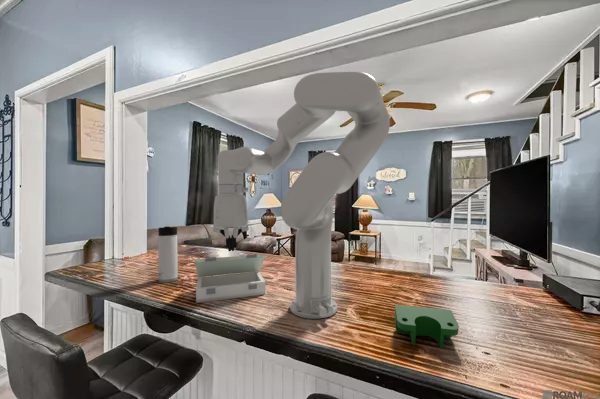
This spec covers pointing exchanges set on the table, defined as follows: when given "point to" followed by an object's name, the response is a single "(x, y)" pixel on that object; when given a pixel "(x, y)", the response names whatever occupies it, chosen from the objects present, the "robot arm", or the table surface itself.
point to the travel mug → (167, 254)
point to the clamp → (425, 322)
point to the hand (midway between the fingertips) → (231, 250)
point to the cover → (229, 265)
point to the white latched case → (229, 286)
